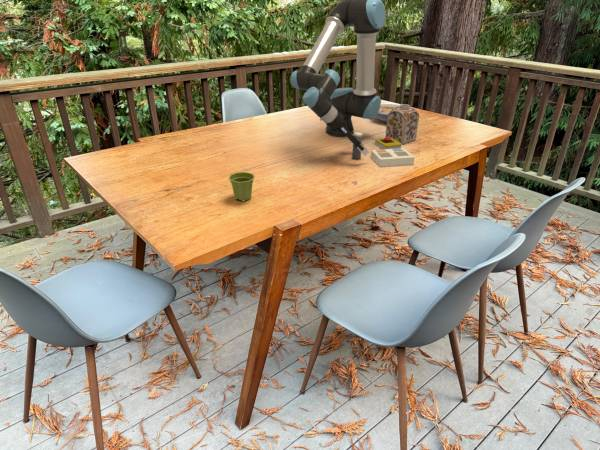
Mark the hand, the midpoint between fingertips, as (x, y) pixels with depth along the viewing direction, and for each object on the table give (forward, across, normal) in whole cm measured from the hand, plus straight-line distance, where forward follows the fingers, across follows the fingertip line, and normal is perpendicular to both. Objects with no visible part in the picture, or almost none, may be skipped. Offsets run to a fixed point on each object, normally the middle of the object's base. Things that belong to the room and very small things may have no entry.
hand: (362, 148), depth 190 cm
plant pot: (-37, +31, -44) cm, 66 cm away
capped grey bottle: (+1, 0, -5) cm, 5 cm away
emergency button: (+16, -12, +9) cm, 22 cm away
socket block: (+12, +6, +6) cm, 15 cm away
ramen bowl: (+28, -53, +22) cm, 64 cm away
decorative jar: (+23, -21, +17) cm, 36 cm away
